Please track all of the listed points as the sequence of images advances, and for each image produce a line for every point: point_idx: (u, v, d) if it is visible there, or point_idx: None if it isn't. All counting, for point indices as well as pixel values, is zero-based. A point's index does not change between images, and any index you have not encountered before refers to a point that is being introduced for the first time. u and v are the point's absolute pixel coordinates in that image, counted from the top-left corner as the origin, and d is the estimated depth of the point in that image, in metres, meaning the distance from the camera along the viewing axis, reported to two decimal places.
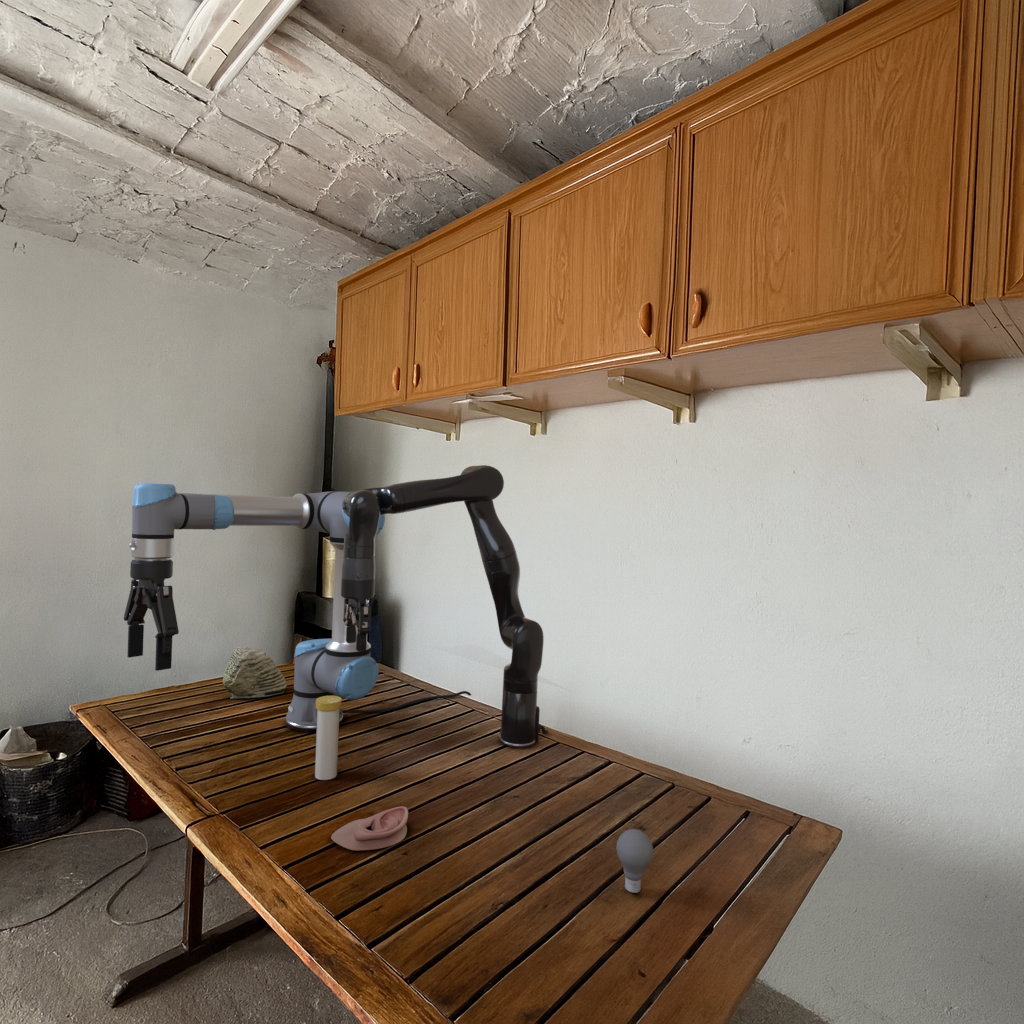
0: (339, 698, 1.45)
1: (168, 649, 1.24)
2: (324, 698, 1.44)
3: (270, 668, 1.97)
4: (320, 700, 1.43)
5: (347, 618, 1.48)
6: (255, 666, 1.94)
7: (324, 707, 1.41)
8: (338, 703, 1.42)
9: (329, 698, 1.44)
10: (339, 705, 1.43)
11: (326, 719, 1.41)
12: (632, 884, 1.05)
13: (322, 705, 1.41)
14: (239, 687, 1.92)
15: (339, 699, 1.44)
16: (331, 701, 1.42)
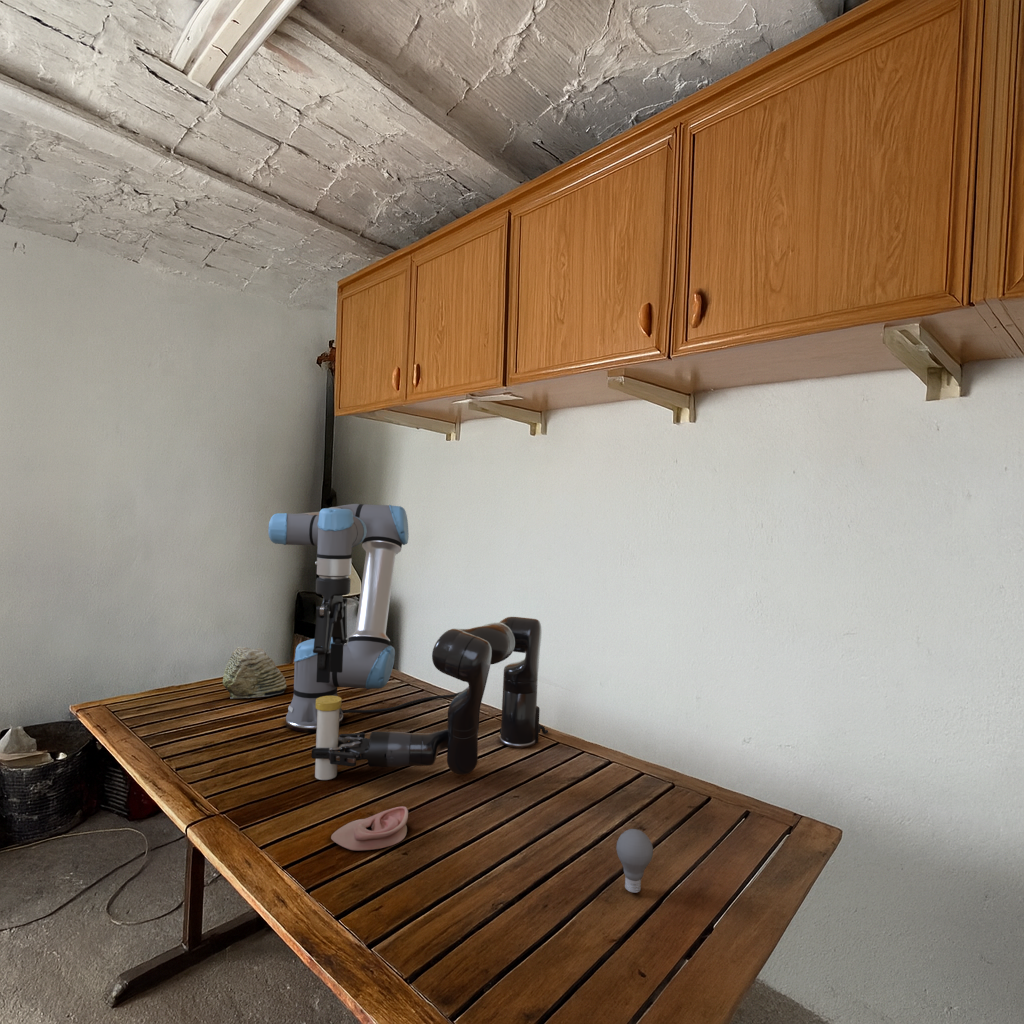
0: (339, 698, 1.45)
1: (322, 665, 1.38)
2: (324, 698, 1.44)
3: (270, 668, 1.97)
4: (320, 700, 1.43)
5: None
6: (255, 666, 1.94)
7: (324, 707, 1.41)
8: (338, 703, 1.42)
9: (329, 698, 1.44)
10: (339, 705, 1.43)
11: (326, 719, 1.41)
12: (632, 884, 1.05)
13: (322, 705, 1.41)
14: (239, 687, 1.92)
15: (339, 699, 1.44)
16: (331, 701, 1.42)
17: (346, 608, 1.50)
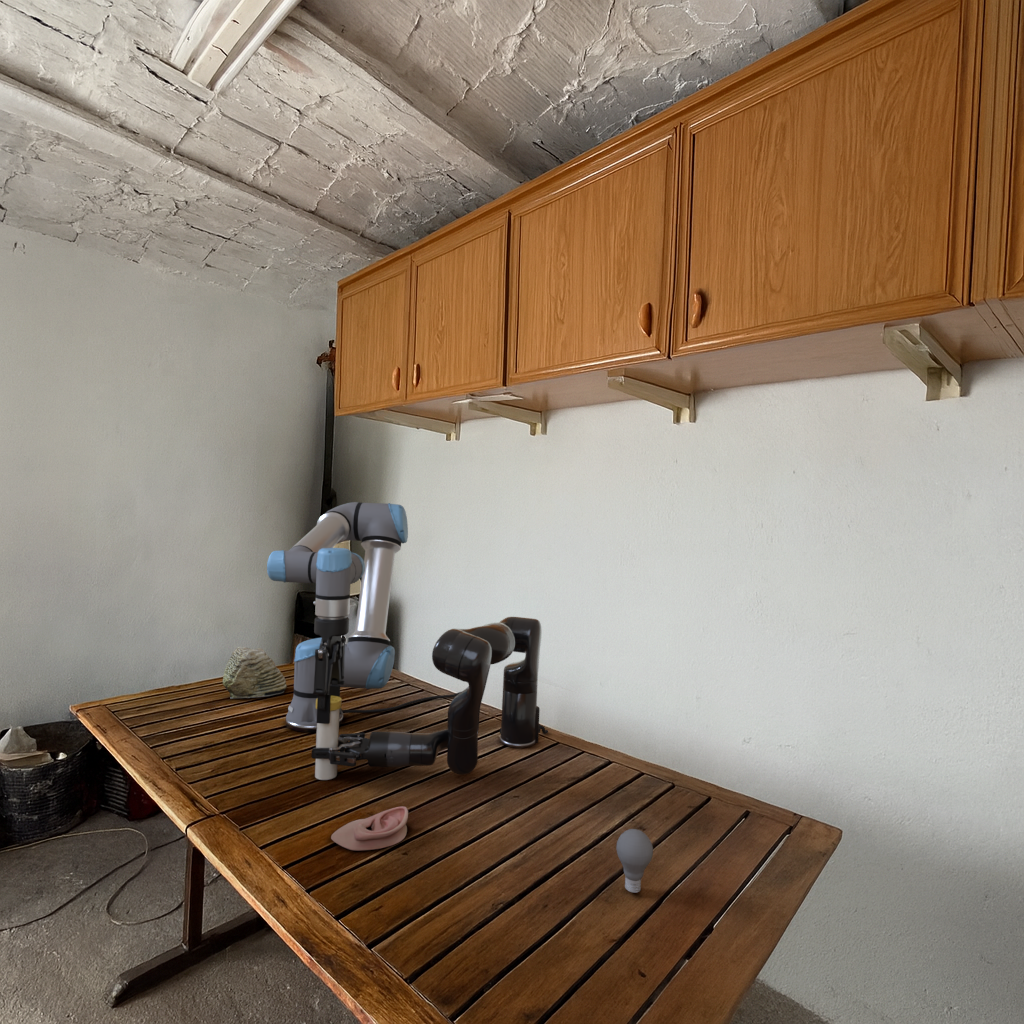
0: (339, 698, 1.45)
1: (322, 706, 1.39)
2: None
3: (270, 668, 1.97)
4: None
5: None
6: (255, 666, 1.94)
7: None
8: (338, 703, 1.42)
9: None
10: (339, 705, 1.43)
11: None
12: (632, 884, 1.05)
13: None
14: (239, 687, 1.92)
15: (339, 699, 1.44)
16: (331, 701, 1.42)
17: (344, 648, 1.49)
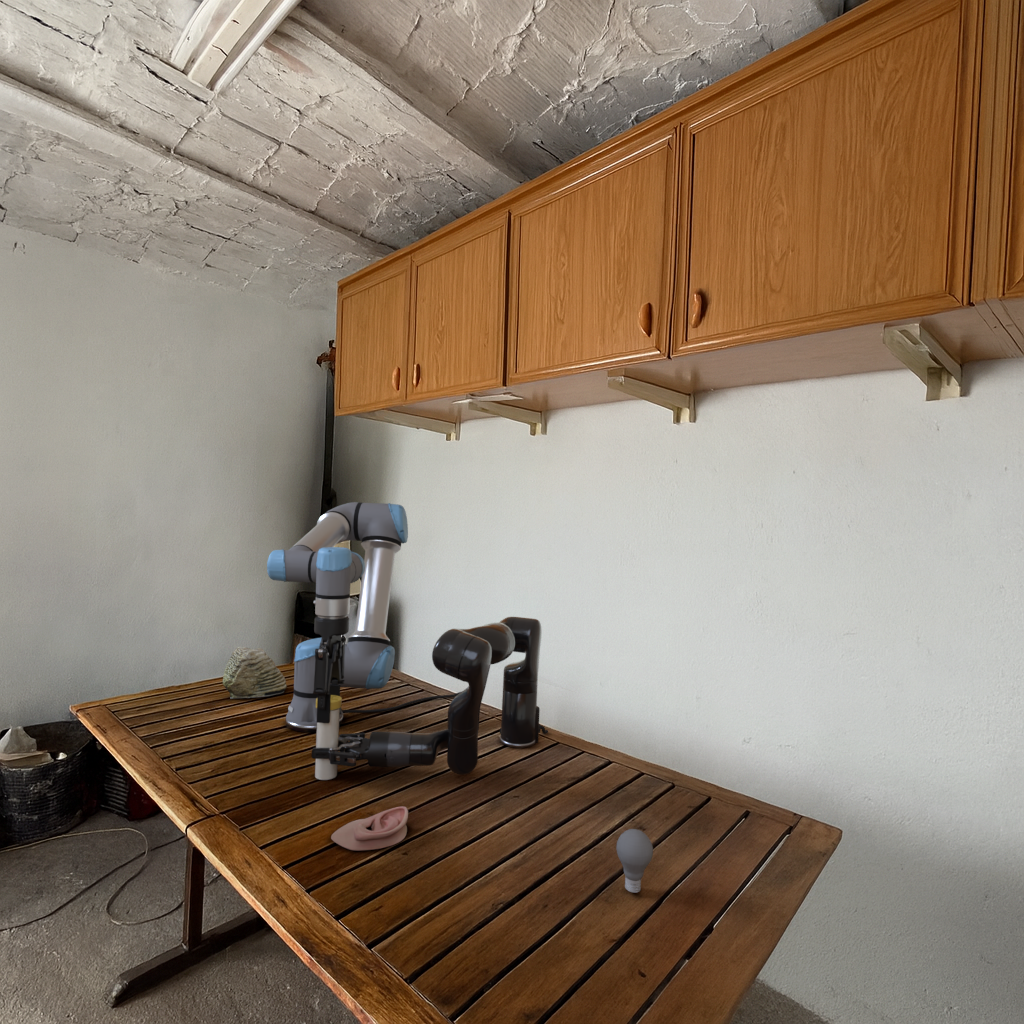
0: None
1: (322, 706, 1.39)
2: None
3: (270, 668, 1.97)
4: (331, 701, 1.42)
5: None
6: (255, 666, 1.94)
7: (341, 703, 1.44)
8: None
9: None
10: None
11: None
12: (632, 884, 1.05)
13: (340, 702, 1.43)
14: (239, 687, 1.92)
15: None
16: (335, 697, 1.45)
17: (344, 647, 1.49)
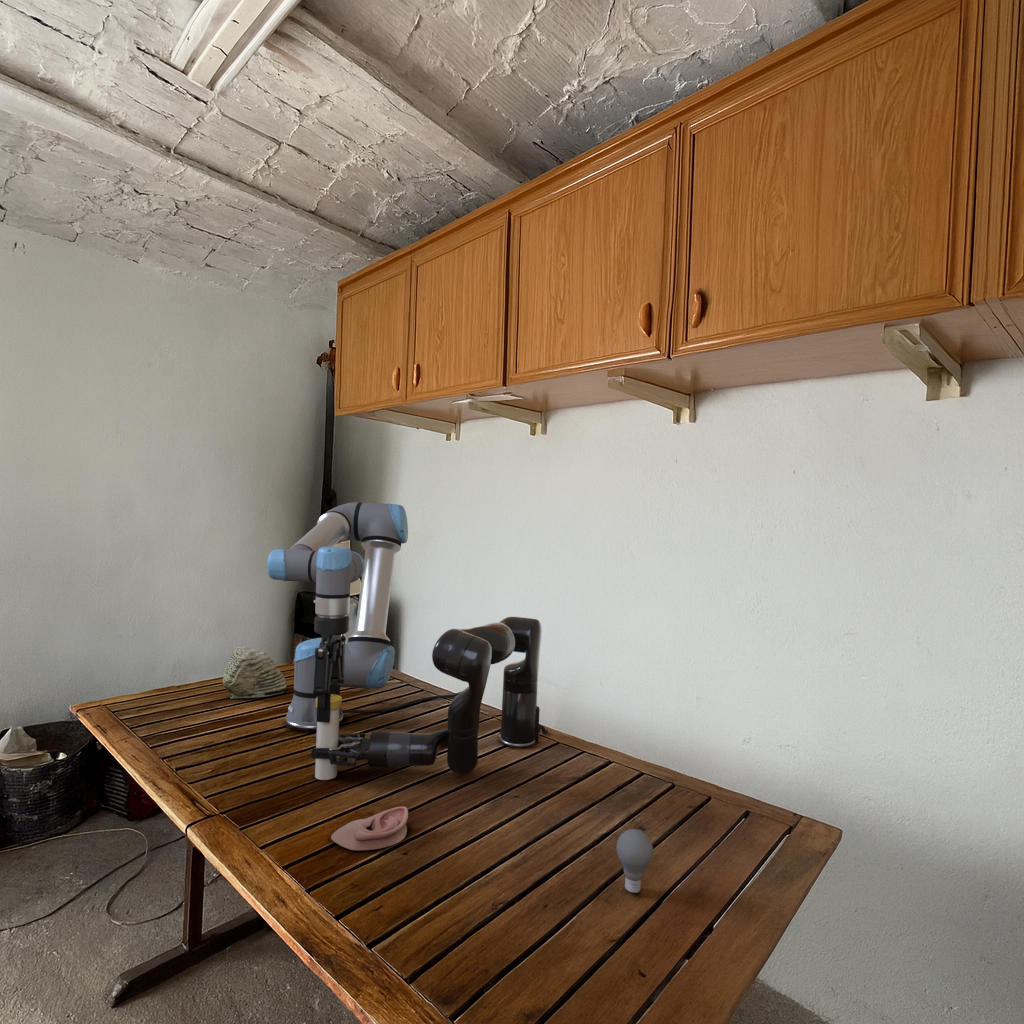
0: None
1: (322, 705, 1.39)
2: (333, 698, 1.43)
3: (270, 668, 1.97)
4: (337, 696, 1.45)
5: None
6: (255, 666, 1.94)
7: None
8: None
9: None
10: None
11: None
12: (632, 884, 1.05)
13: None
14: (239, 687, 1.92)
15: None
16: None
17: (344, 647, 1.49)
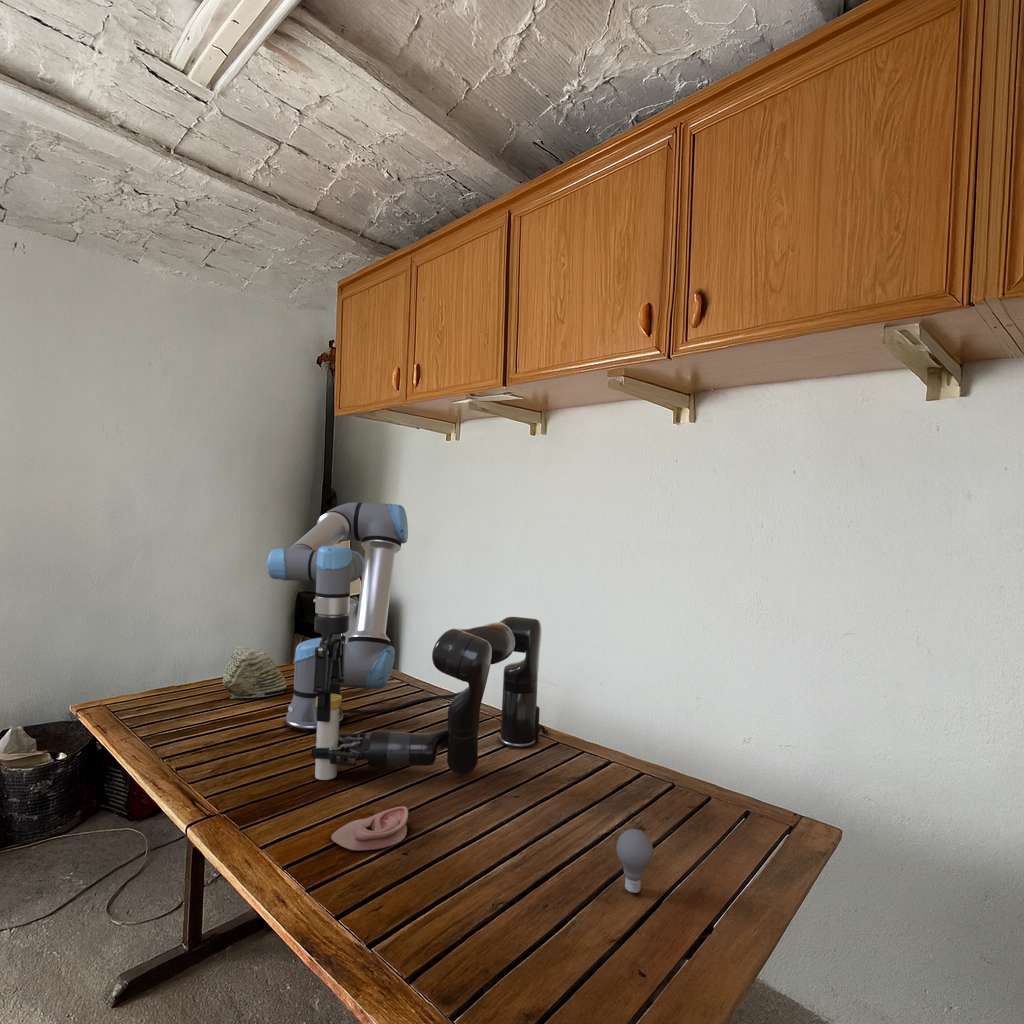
0: (332, 700, 1.42)
1: (322, 704, 1.39)
2: (331, 696, 1.45)
3: (270, 668, 1.97)
4: None
5: None
6: (255, 666, 1.94)
7: None
8: None
9: (332, 697, 1.44)
10: None
11: None
12: (632, 884, 1.05)
13: None
14: (239, 687, 1.92)
15: None
16: None
17: (344, 646, 1.49)
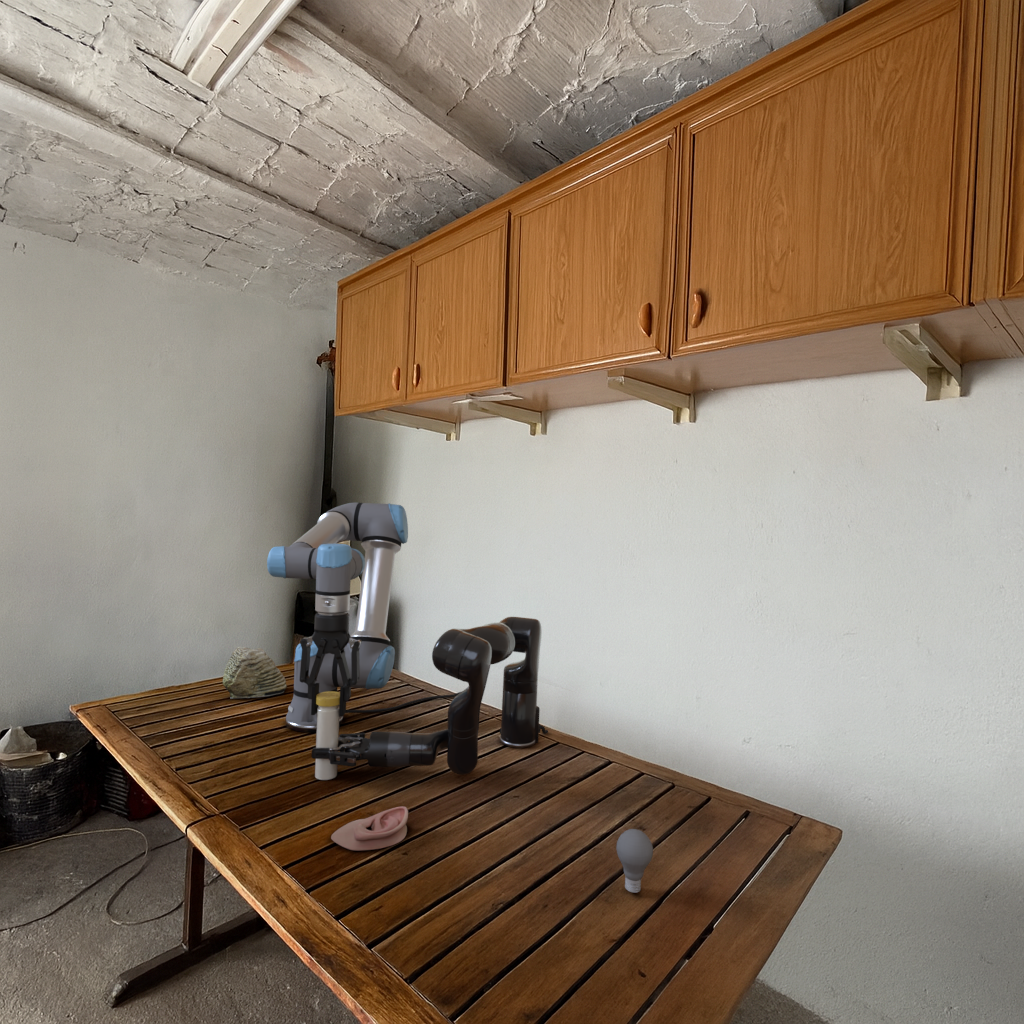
0: (339, 693, 1.45)
1: (349, 696, 1.44)
2: (324, 694, 1.44)
3: (270, 668, 1.97)
4: (321, 696, 1.43)
5: None
6: (255, 666, 1.94)
7: (326, 703, 1.41)
8: None
9: (329, 694, 1.44)
10: None
11: (326, 719, 1.41)
12: (632, 884, 1.05)
13: (324, 701, 1.41)
14: (239, 687, 1.92)
15: (339, 694, 1.45)
16: (332, 696, 1.43)
17: None
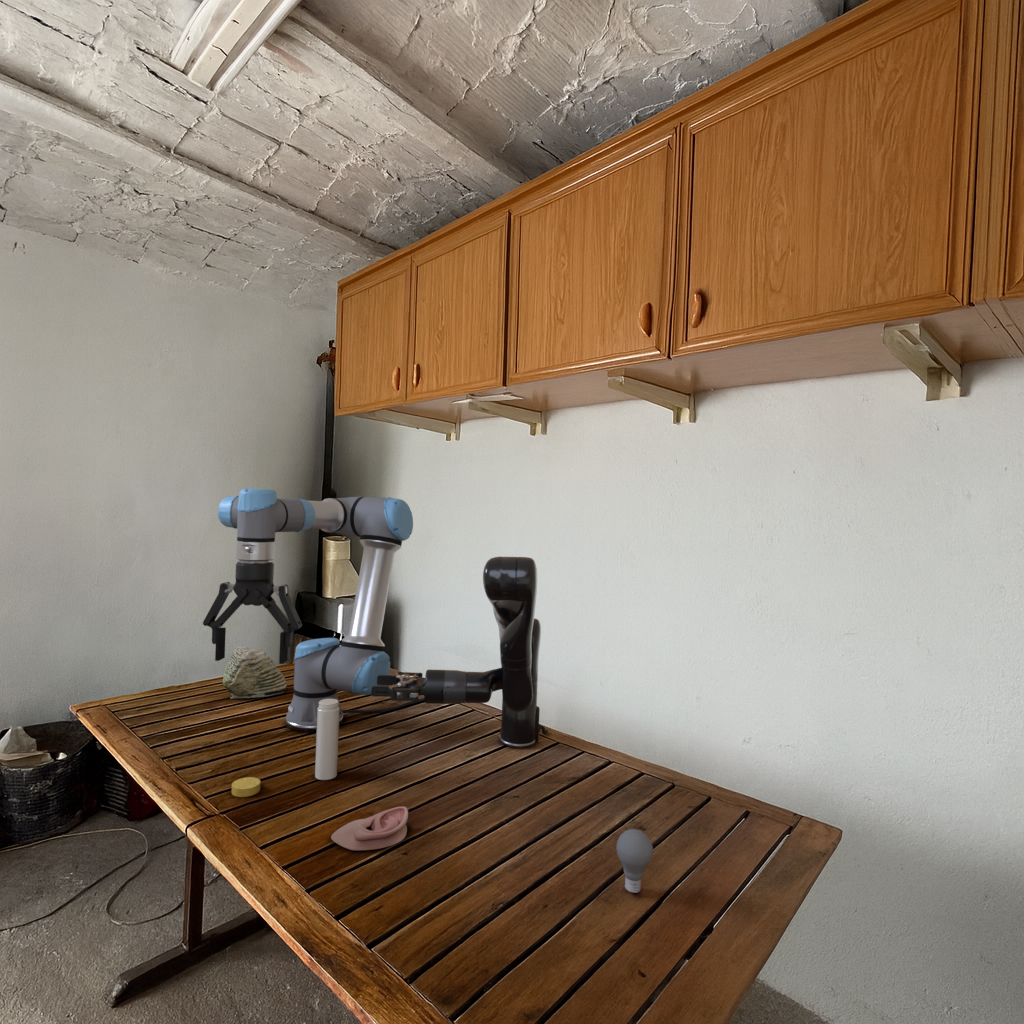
0: (257, 780, 1.36)
1: (291, 642, 1.35)
2: (241, 782, 1.35)
3: (270, 668, 1.97)
4: (237, 785, 1.34)
5: None
6: (255, 666, 1.94)
7: (241, 793, 1.32)
8: (257, 787, 1.34)
9: (246, 781, 1.36)
10: (258, 788, 1.35)
11: (326, 719, 1.41)
12: (632, 884, 1.05)
13: (239, 791, 1.32)
14: (239, 687, 1.92)
15: (258, 781, 1.36)
16: (249, 785, 1.34)
17: None
